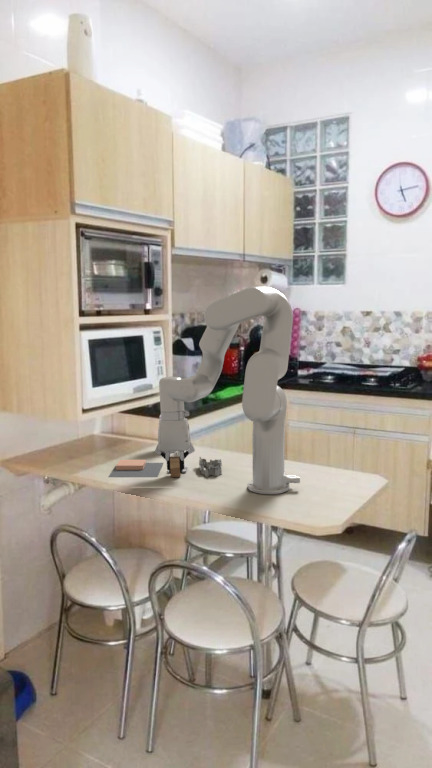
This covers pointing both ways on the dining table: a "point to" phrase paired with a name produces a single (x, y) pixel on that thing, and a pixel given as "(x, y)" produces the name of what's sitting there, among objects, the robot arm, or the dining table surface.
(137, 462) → the tile
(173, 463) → the turner
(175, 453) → the ceramic fragment
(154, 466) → the mat
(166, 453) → the robot arm
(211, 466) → the egg carton
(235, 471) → the dining table surface
